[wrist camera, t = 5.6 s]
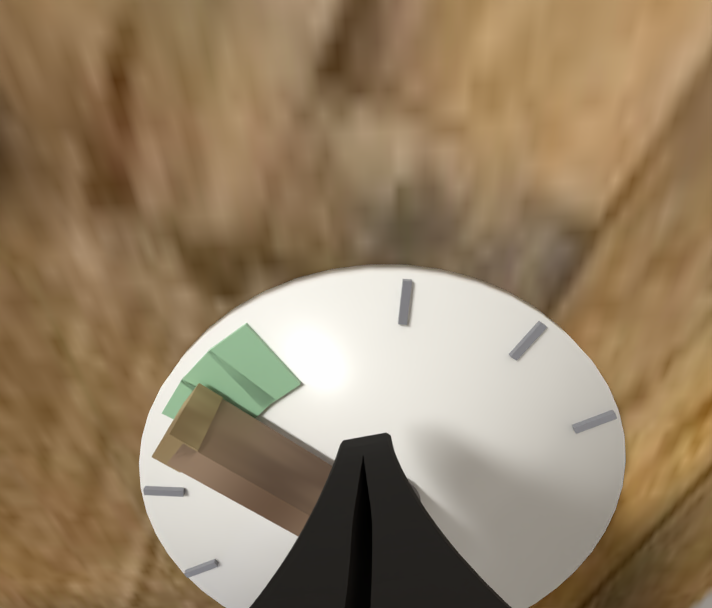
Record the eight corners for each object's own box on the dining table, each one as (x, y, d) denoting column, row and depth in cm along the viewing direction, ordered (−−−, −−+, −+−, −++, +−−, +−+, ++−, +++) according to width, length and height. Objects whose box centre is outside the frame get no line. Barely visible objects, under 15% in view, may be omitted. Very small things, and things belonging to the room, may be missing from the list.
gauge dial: (551, 634, 24) (561, 659, 23) (172, 620, 23) (163, 645, 22) (679, 280, 16) (703, 292, 15) (118, 247, 16) (100, 257, 14)
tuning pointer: (437, 500, 18) (451, 567, 16) (386, 543, 19) (392, 615, 17) (216, 359, 16) (187, 411, 13) (171, 418, 17) (134, 477, 14)
